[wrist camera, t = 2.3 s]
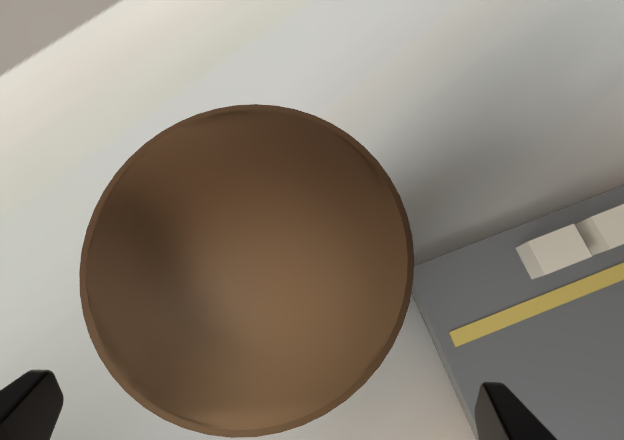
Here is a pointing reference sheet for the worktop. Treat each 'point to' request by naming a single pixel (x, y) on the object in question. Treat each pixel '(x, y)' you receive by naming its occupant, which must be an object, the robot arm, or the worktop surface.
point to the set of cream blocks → (573, 243)
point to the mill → (246, 270)
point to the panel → (533, 326)
